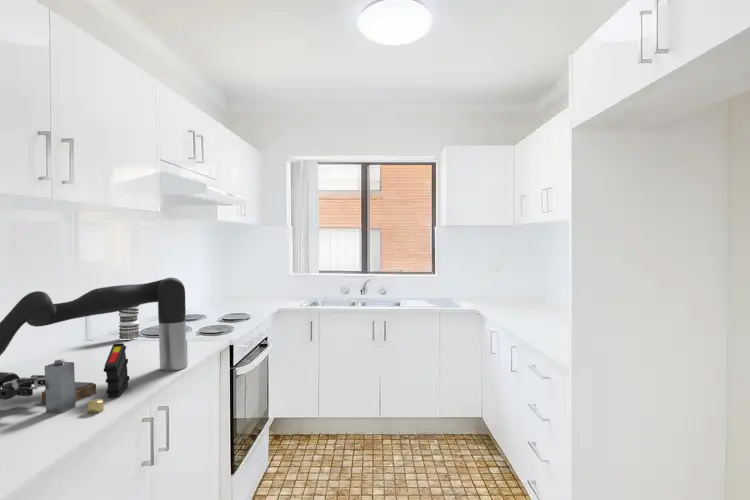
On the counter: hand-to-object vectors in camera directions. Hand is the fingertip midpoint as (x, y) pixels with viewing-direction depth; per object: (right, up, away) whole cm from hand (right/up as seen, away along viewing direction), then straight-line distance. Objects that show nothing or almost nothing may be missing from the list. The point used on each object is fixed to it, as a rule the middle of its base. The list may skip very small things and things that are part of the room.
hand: (44, 387), depth 143 cm
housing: (+4, -7, 0) cm, 8 cm away
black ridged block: (+13, -6, +14) cm, 21 cm away
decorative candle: (-24, -4, +99) cm, 102 cm away
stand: (0, -6, +11) cm, 13 cm away
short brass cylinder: (+15, -6, -2) cm, 17 cm away
